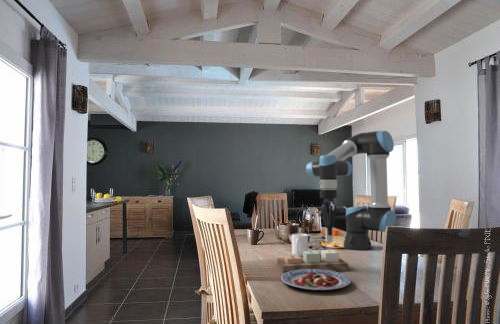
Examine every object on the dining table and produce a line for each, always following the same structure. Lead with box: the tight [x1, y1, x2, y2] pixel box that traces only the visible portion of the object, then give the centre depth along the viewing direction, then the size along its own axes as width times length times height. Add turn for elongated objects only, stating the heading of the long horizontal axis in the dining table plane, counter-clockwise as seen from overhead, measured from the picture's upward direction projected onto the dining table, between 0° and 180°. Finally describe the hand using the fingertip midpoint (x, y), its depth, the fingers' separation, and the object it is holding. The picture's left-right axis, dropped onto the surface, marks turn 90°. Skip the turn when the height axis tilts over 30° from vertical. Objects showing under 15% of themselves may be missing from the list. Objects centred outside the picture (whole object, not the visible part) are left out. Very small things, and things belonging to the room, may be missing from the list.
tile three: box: [284, 254, 301, 264], centre depth 151 cm, size 6×6×4 cm
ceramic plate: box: [280, 269, 352, 291], centre depth 130 cm, size 26×26×3 cm
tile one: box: [320, 249, 340, 262], centre depth 153 cm, size 6×6×4 cm
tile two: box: [302, 250, 321, 263], centre depth 152 cm, size 6×6×4 cm
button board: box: [276, 256, 349, 274], centre depth 152 cm, size 28×14×3 cm, turn 96°
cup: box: [291, 233, 309, 257], centre depth 177 cm, size 8×12×10 cm
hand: (329, 242), depth 153 cm, fingers closed
